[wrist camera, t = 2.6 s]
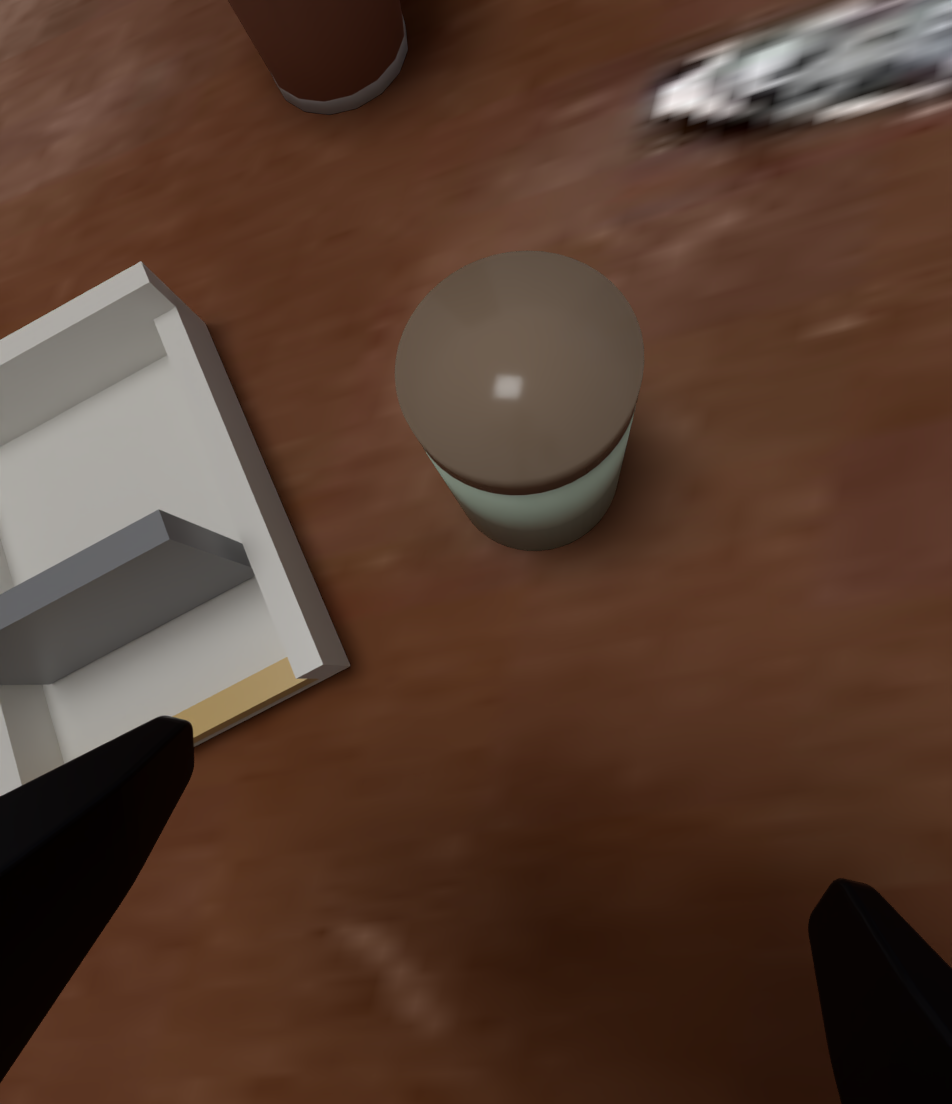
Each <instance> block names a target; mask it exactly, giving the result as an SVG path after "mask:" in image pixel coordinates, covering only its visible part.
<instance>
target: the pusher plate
mask: <svg viewBox="0 0 952 1104" xmlns="http://www.w3.org/2000/svg"><path fill="white" fill-rule="evenodd" d="M254 576H255V574H254V572H253V569H252V567H251V564H250V562H249V559H248V557H247V554H246V552H245V549H244V547H243V544H242V543H240V542H238V541H235V540H233V539H230V538H228V537H225V536H223V535H220V534H218V533H216V532H213V531H211V530H208V529H206V528H203V527H201V526H198V525H196V524H194V523H191V522H189V521H186V520H184V519H181V518H179V517H176V516H174V515H172V514H169V513H167V512H164V511H162V510H159V509H158V510H156V511H155V512H153V513H151V514H149V515H147V516H145V517H143V518H142V519H140V520H138V521H136V522H134V523H132V524H130V525H129V526H127V527H125V528H123V529H121V530H119V531H117V532H116V533H114V534H112V535H110V536H108V537H106V538H104V539H102V540H101V541H99V542H97V543H95V544H93V545H91V546H89V547H88V548H86V549H84V550H82V551H80V552H78V553H76V554H75V555H73V556H71V557H69V558H67V559H65V560H63V561H62V562H60V563H58V564H56V565H54V566H52V567H50V568H49V569H47V570H45V571H43V572H41V573H39V574H37V575H36V576H34V577H32V578H30V579H28V580H26V581H24V582H23V583H21V584H19V585H17V586H15V587H13V588H11V589H10V590H8V591H6V592H4V593H2V594H0V685H46V684H52V683H54V682H56V681H57V680H59V679H61V678H63V677H65V676H67V675H69V674H71V673H73V672H74V671H76V670H78V669H80V668H82V667H84V666H86V665H88V664H90V663H92V662H93V661H95V660H97V659H99V658H101V657H103V656H105V655H107V654H109V653H110V652H112V651H114V650H116V649H118V648H120V647H122V646H124V645H126V644H127V643H129V642H131V641H133V640H135V639H137V638H139V637H141V636H143V635H145V634H146V633H148V632H150V631H152V630H154V629H156V628H158V627H160V626H162V625H163V624H165V623H167V622H169V621H171V620H173V619H175V618H177V617H179V616H181V615H182V614H184V613H186V612H188V611H190V610H192V609H194V608H196V607H198V606H199V605H201V604H203V603H205V602H207V601H209V600H211V599H213V598H215V597H217V596H218V595H220V594H222V593H224V592H226V591H228V590H230V589H232V588H234V587H235V586H237V585H239V584H241V583H243V582H245V581H247V580H249V579H251V578H252V577H254Z"/></svg>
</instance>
